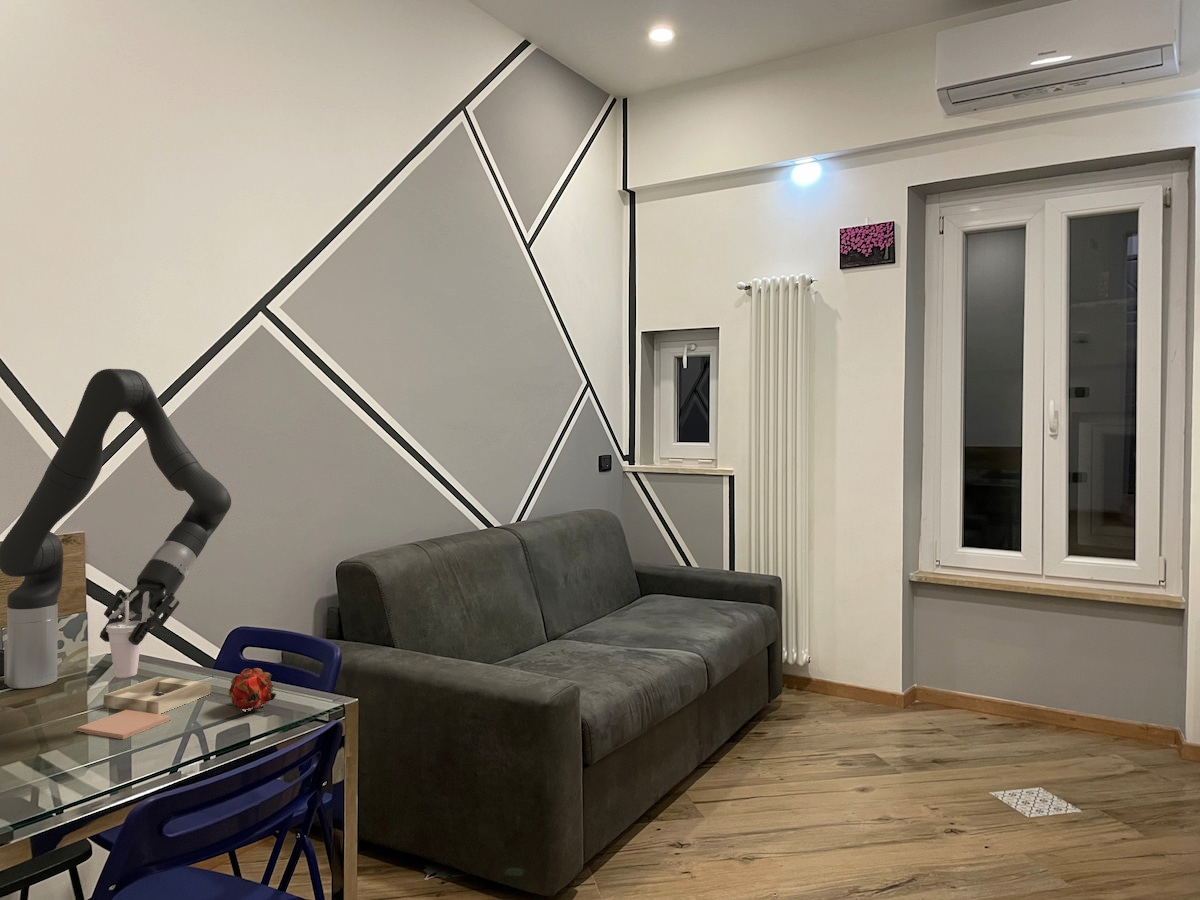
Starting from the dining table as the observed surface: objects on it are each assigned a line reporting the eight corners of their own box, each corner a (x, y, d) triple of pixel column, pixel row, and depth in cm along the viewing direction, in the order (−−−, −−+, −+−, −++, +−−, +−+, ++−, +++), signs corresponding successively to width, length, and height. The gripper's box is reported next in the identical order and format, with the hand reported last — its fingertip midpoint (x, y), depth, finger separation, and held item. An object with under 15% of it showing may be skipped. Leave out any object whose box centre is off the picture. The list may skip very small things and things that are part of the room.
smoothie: (152, 670, 166) (151, 598, 165) (130, 680, 159) (130, 605, 159) (121, 669, 166) (120, 597, 166) (98, 679, 160) (97, 604, 160)
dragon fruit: (253, 705, 181) (256, 731, 170) (218, 686, 177) (219, 712, 167) (279, 672, 182) (284, 696, 171) (245, 652, 178) (247, 676, 168)
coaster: (77, 731, 159) (77, 727, 159) (126, 713, 170) (126, 709, 170) (123, 739, 156) (123, 734, 156) (170, 720, 166) (170, 716, 166)
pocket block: (103, 707, 174) (103, 694, 173) (158, 687, 187) (158, 676, 187) (158, 715, 169) (158, 702, 169) (210, 694, 183) (210, 683, 182)
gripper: (128, 555, 172) (76, 627, 161) (186, 559, 167) (136, 633, 156) (150, 577, 177) (100, 648, 166) (206, 582, 172) (159, 655, 161)
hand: (118, 641), depth 161 cm, fingers closed on smoothie, 6 cm apart
